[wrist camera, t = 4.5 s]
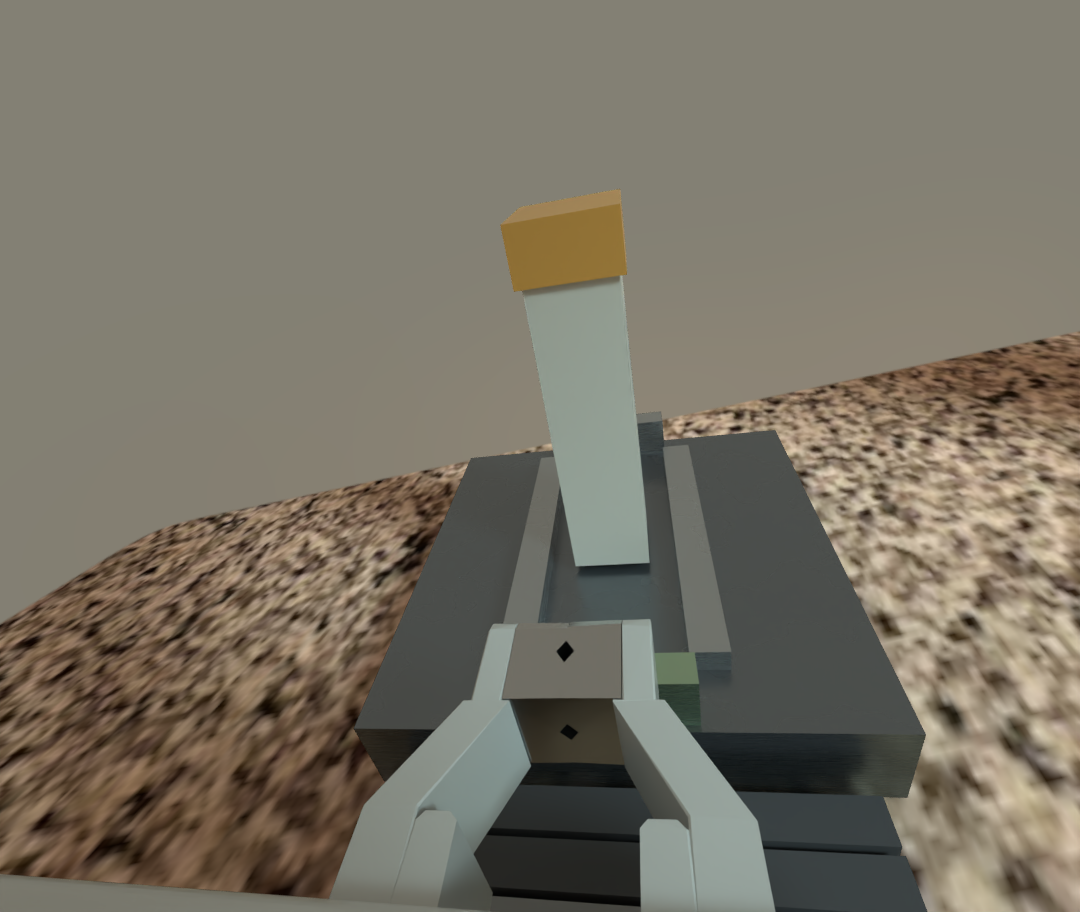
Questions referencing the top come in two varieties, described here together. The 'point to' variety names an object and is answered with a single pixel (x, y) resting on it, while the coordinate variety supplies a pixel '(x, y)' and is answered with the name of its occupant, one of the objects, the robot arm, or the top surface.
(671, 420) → the top surface
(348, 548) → the top surface
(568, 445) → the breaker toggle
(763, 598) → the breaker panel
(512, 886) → the dark grey flat bar
